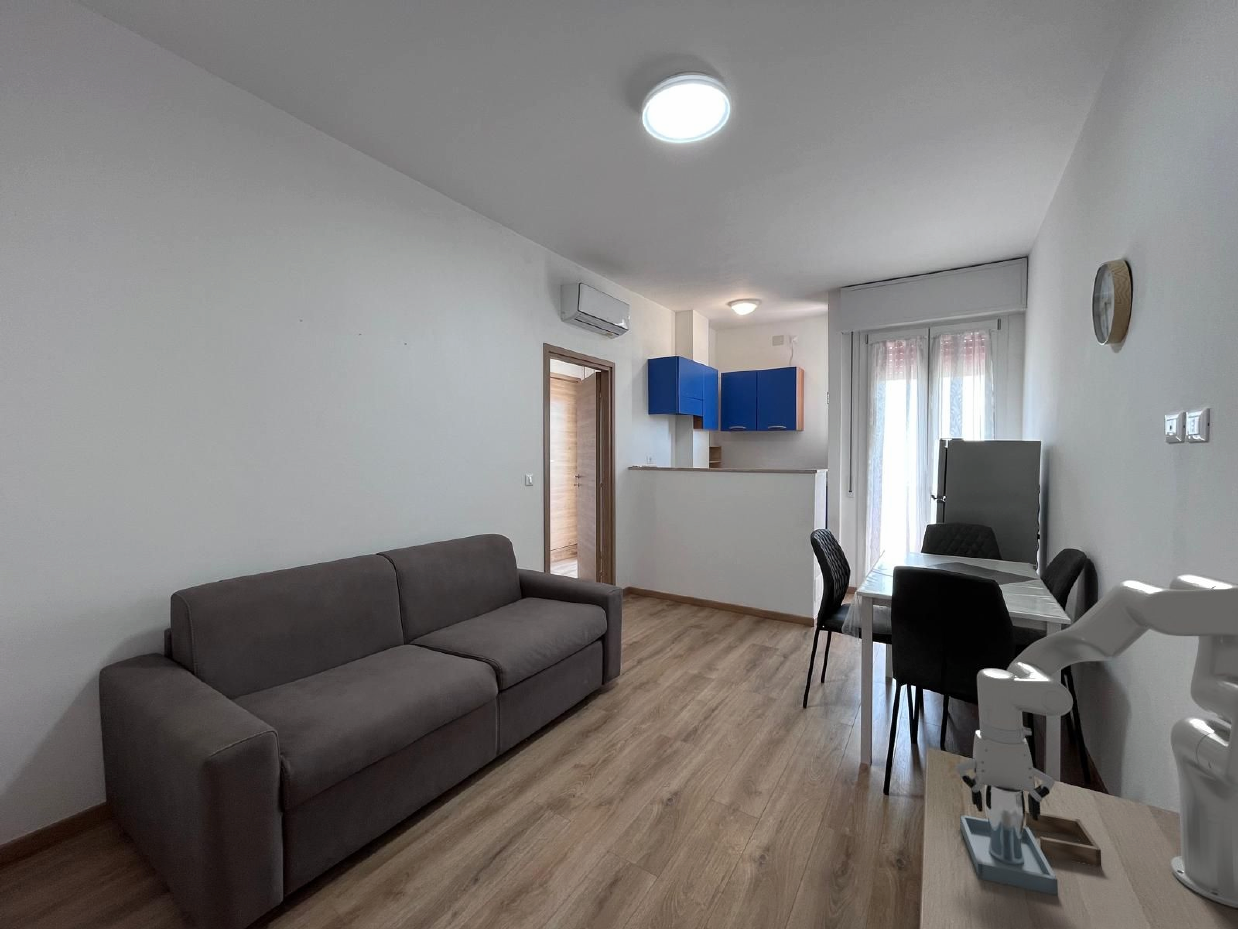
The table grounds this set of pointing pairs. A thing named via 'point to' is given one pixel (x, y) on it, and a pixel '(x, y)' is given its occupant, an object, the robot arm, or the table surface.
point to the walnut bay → (1063, 849)
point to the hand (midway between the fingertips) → (1005, 812)
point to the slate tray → (1025, 875)
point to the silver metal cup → (1005, 823)
